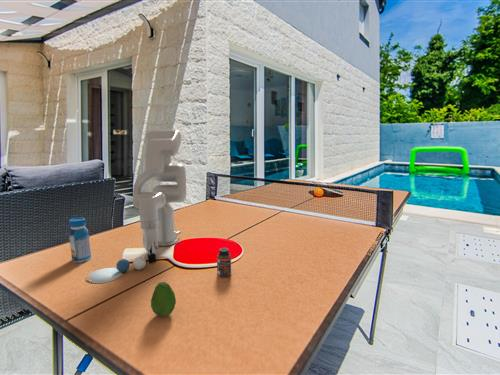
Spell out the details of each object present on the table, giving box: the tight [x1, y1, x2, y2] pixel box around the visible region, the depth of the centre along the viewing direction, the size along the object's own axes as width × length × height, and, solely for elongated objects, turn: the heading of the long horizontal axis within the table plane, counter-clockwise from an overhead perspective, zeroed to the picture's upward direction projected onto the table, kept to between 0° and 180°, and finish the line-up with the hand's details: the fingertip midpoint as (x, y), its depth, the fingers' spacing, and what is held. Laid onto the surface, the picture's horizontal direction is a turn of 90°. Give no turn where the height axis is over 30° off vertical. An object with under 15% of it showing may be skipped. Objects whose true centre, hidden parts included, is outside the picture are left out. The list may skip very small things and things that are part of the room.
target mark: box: [85, 267, 123, 284], centre depth 137 cm, size 14×14×1 cm
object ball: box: [115, 258, 131, 273], centre depth 140 cm, size 6×6×6 cm
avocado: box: [150, 281, 177, 318], centre depth 107 cm, size 8×8×12 cm
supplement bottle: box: [216, 247, 232, 278], centre depth 135 cm, size 6×6×11 cm
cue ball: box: [132, 256, 147, 271], centre depth 142 cm, size 6×6×6 cm
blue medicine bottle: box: [68, 216, 92, 263], centre depth 151 cm, size 8×8×20 cm
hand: (152, 262), depth 146 cm, fingers closed
